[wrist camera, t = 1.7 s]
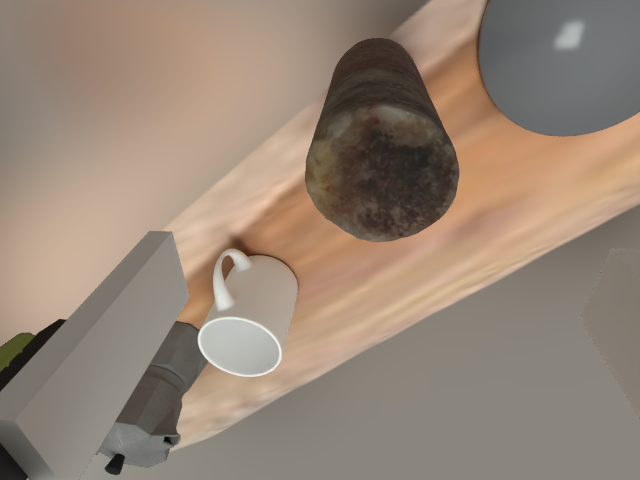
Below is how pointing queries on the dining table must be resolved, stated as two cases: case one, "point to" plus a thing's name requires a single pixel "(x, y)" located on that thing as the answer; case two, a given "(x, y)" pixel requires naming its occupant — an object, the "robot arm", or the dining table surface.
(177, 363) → the coffeepot
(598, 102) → the plate
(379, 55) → the dark brown rough cylinder
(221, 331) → the mug
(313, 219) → the dining table surface
